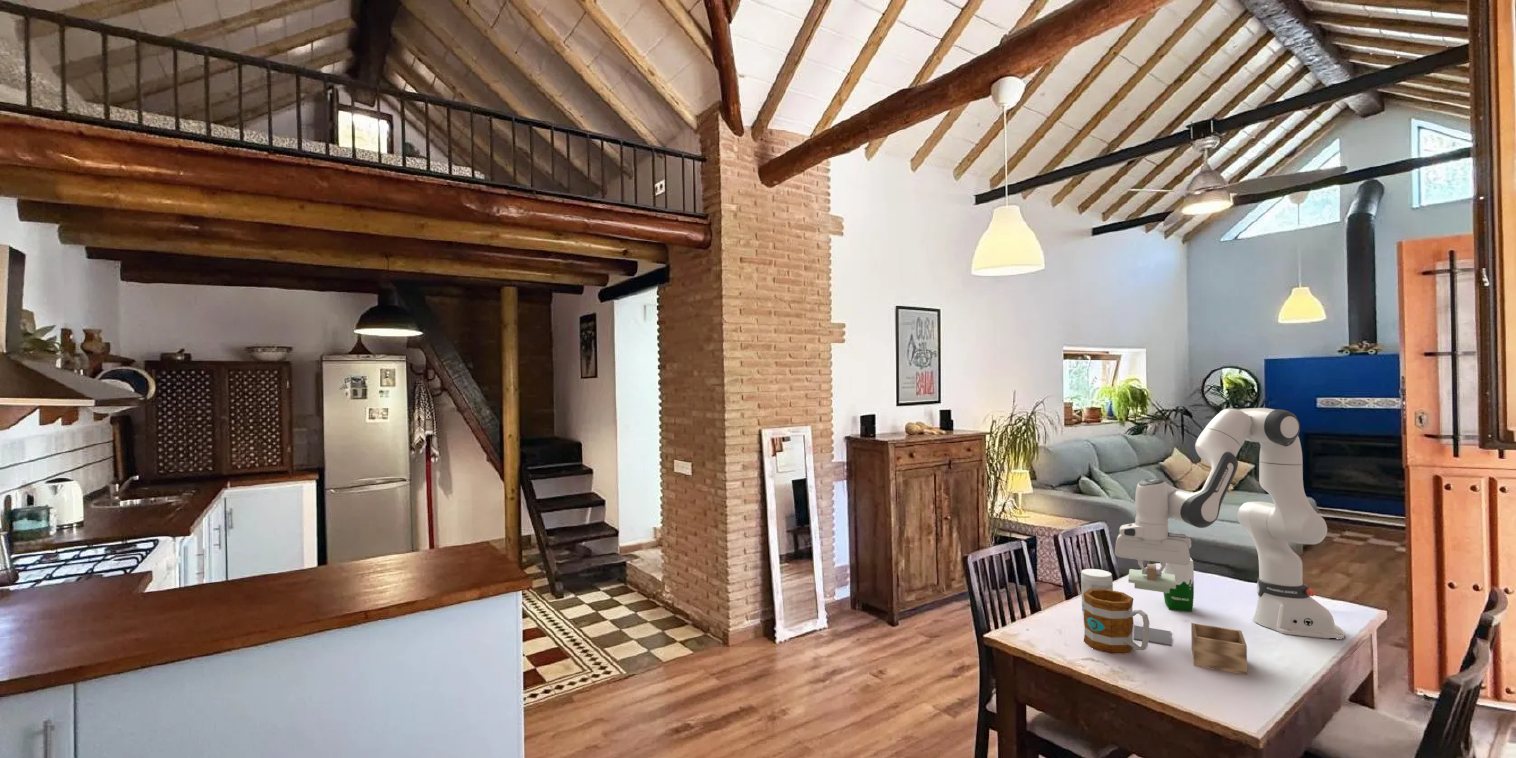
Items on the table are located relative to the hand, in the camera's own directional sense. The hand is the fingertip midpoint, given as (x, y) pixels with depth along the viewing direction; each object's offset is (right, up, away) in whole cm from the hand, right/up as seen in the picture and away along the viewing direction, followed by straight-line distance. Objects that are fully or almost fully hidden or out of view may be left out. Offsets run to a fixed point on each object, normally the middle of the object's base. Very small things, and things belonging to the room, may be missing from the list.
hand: (1151, 574), depth 204 cm
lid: (0, -2, 0) cm, 2 cm away
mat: (0, -19, 0) cm, 19 cm away
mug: (-16, -20, -9) cm, 27 cm away
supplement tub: (-8, -19, +18) cm, 28 cm away
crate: (+8, -19, -18) cm, 28 cm away
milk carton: (+24, -19, +24) cm, 39 cm away
